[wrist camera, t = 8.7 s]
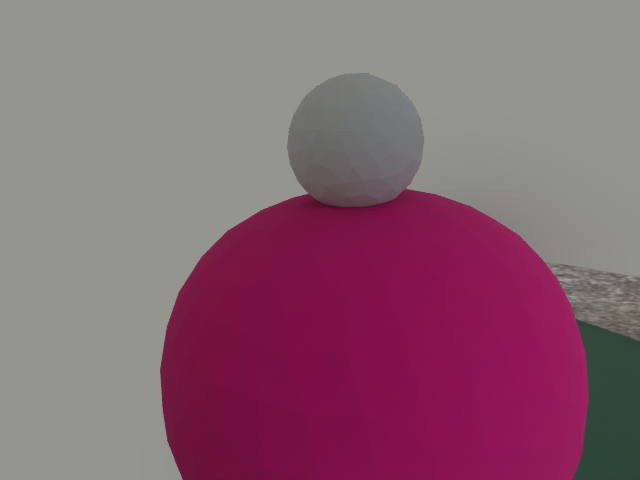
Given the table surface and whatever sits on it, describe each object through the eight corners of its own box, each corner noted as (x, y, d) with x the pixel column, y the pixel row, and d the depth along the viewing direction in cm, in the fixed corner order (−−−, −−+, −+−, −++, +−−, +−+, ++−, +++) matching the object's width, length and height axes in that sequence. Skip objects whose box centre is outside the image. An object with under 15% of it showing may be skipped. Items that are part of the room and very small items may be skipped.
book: (562, 347, 36) (567, 315, 35) (832, 457, 25) (850, 414, 24) (390, 479, 25) (389, 438, 24) (731, 786, 14) (756, 732, 13)
